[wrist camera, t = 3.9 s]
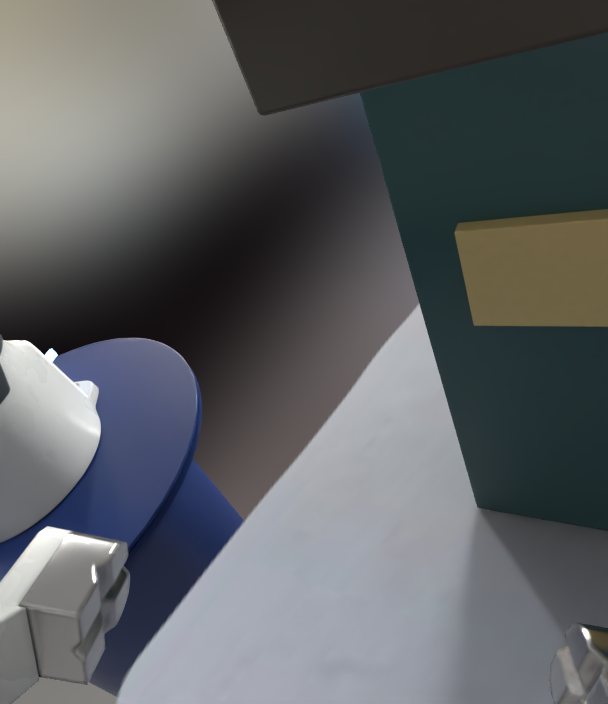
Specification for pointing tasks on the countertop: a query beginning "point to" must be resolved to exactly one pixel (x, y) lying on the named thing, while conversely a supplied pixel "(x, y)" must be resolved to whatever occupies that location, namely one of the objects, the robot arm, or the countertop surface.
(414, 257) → the teal box with label
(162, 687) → the countertop surface
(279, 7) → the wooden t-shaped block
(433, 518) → the countertop surface
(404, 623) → the countertop surface
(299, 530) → the countertop surface
